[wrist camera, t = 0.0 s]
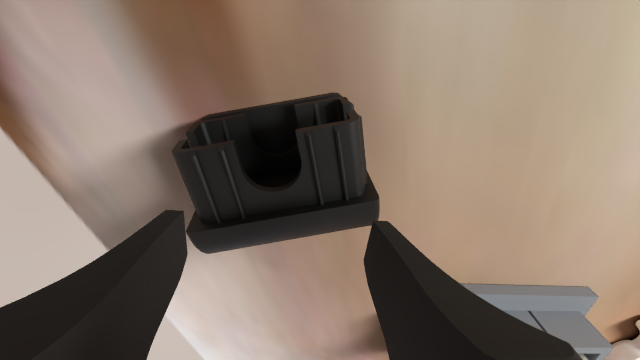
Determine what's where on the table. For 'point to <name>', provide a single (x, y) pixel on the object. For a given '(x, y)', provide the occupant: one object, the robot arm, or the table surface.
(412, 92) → the table surface
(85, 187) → the table surface
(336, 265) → the table surface
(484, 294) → the socket strip
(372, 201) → the end cap
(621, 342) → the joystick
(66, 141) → the table surface
